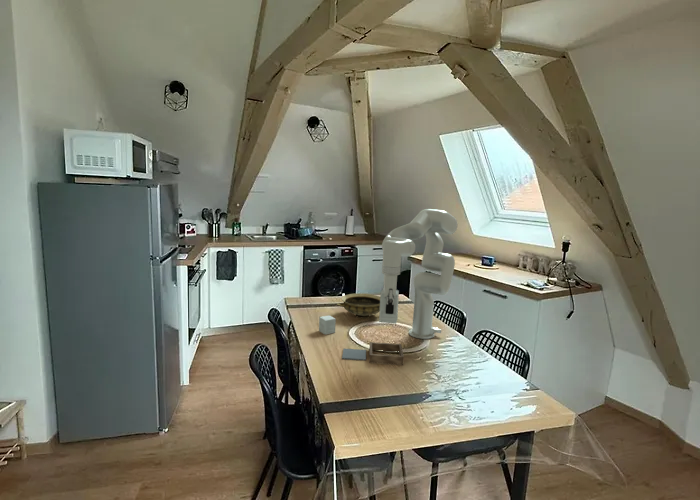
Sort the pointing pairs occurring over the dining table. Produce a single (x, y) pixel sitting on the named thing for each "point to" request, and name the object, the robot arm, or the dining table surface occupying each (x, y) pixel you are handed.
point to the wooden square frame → (386, 358)
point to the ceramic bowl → (361, 304)
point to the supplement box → (383, 316)
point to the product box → (327, 324)
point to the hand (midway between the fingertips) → (388, 310)
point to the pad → (354, 354)
